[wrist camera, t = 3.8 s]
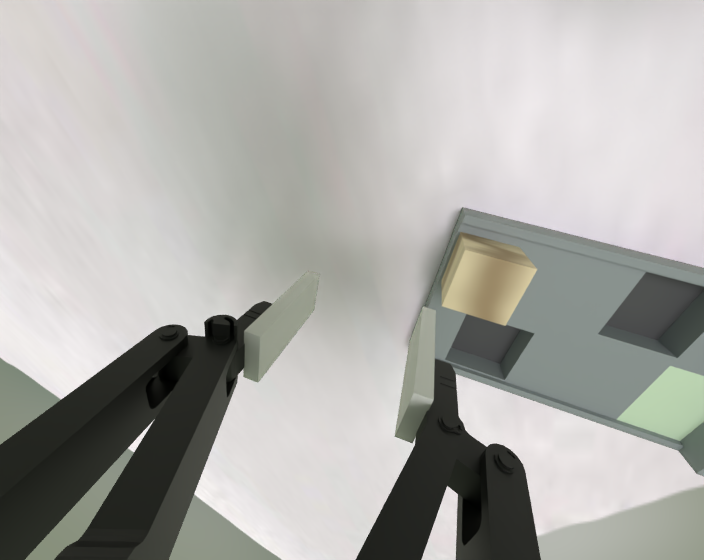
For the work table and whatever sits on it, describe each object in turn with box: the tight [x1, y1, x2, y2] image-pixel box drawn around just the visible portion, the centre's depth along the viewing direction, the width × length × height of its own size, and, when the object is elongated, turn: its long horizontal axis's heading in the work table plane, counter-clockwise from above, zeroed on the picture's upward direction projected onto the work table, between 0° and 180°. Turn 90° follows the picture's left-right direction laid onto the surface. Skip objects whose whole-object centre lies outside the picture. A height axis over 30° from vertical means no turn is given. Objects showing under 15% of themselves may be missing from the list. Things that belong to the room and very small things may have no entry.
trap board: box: [425, 208, 704, 476], centre depth 28 cm, size 30×18×6 cm, turn 78°
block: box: [441, 232, 537, 326], centre depth 26 cm, size 6×6×6 cm
